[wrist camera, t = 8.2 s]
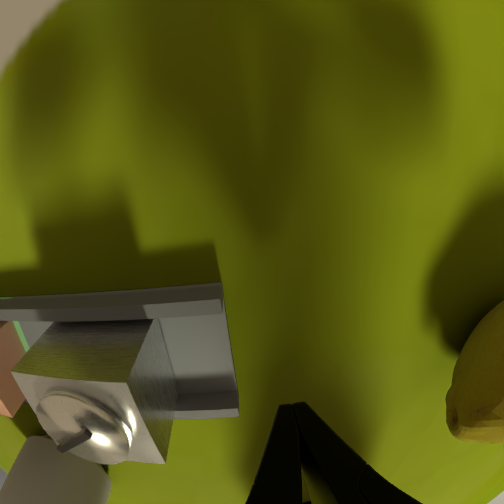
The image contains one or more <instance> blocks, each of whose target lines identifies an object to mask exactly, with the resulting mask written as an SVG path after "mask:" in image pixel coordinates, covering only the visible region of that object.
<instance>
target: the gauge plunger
mask: <svg viewBox="0 0 504 504" xmlns="http://www.w3.org/2000/svg"><path fill="white" fill-rule="evenodd" d="M11 373H12V375H13V377H14V379H15V381H16V382H17V384H18V386H19V388H20V390H21V391H22V393H23V395H24V396H25V398H26V400H27V401H28V403H29V405H30V406H31V408H32V409H33V411H34V412H35V414H36V415H37V418H38V420H39V422H40V424H41V426H42V427H43V429H44V430H45V431H46V433H47V434H48V435H49V436H50V437H51V438H52V439H53V440H54V441H55V443H56V444H57V445H58V446H57V448H56V449H57V450H58V451H60V452H61V453H64V452H66V451H69V452H71V453H73V454H75V455H76V456H79V457H81V458H83V459H86V460H88V461H92V462H95V463H100V464H118V463H121V462H123V461H124V460H127V461H136V462H147V463H161V464H166V459H167V453H168V447H169V441H170V436H171V430H172V425H173V419H174V414H175V408H176V403H177V398H178V393H179V390H178V387H177V383H176V380H175V377H174V374H173V370H172V367H171V363H170V360H169V357H168V353H167V349H166V346H165V342H164V338H163V335H162V331H161V327H160V323H159V319H158V318H157V319H138V320H113V321H66V322H53V323H52V324H51V325H50V327H49V328H48V329H47V330H46V331H45V332H44V333H43V334H42V335H41V336H40V338H39V339H38V340H37V341H36V342H35V343H34V344H33V346H32V347H31V348H30V349H29V350H28V351H27V352H26V354H25V355H24V356H23V357H22V358H21V359H20V361H19V362H18V363H17V364H16V365H15V367H14V368H13V369H12V370H11Z"/></svg>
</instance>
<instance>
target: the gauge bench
mask: <svg viewBox="0 0 504 504" xmlns="http://www.w3.org/2000/svg"><path fill="white" fill-rule="evenodd" d="M157 318H158V319H159V323H160V327H161V331H162V335H163V338H164V342H165V346H166V349H167V353H168V357H169V360H170V363H171V367H172V370H173V374H174V377H175V380H176V383H177V387H178V390H179V393H178V398H177V403H176V408H175V414H174V419H208V418H228V417H239V394H238V388H237V382H236V376H235V370H234V363H233V357H232V351H231V344H230V337H229V331H228V324H227V317H226V310H225V303H224V295H223V288H222V282H217V283H206V284H195V285H184V286H172V287H160V288H147V289H134V290H121V291H106V292H91V293H75V294H58V295H39V296H17V297H0V321H13V323H14V326H15V328H16V331H17V333H18V335H19V338H20V340H21V342H22V345H23V347H24V349H25V351H26V352H27V351H28V350H29V349H30V348H31V347H32V346H33V344H34V343H35V342H36V341H37V340H38V339H39V338H40V336H41V335H42V334H43V333H44V332H45V331H46V330H47V329H48V328H49V327H50V325H51V324H52V323H53V322H66V321H113V320H138V319H157ZM24 403H28V401H27V400H26V399H25V400H24ZM28 404H29V403H28Z"/></svg>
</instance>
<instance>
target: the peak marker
mask: <svg viewBox="0 0 504 504" xmlns="http://www.w3.org/2000/svg"><path fill="white" fill-rule="evenodd" d="M25 354H26V351H25V349H24V347H23V345H22V342H21V340H20V338H19V335H18V333H17V331H16V328H15V326H14V323H13V321H0V414H1V415H5V416H8V417H11V418H13V417H14V415H15V414H16V412H17V411H18V409H19V408H20V406H21V405H22V403H23V402H24V400H25V399H26V398H25V396H24V395H23V393H22V391H21V390H20V388H19V386H18V384H17V382H16V381H15V379H14V377H13V375H12V373H11V370H12V369H13V368H14V367H15V365H16V364H17V363H18V362H19V361H20V359H21V358H22V357H23V356H24V355H25Z"/></svg>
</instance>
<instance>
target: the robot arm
mask: <svg viewBox="0 0 504 504" xmlns="http://www.w3.org/2000/svg"><path fill="white" fill-rule="evenodd" d="M301 471H302V475H303V478H304V481H305V484H306V487H307V490H308V493H309V496H310V499H311V503H307V504H422V503H420V502H419V501H417V500H416V499H414V498H412V497H411V496H409V495H408V494H406V493H405V492H403V491H401V490H400V489H398V488H397V487H395V486H394V485H393V484H391V483H390V482H388V481H387V480H386V479H384V478H383V477H382V476H381V475H380V474H379V473H377V472H376V471H375V470H374V469H373V468H372V467H371V466H370V465H369V464H367V463H366V462H365V461H364V460H363V459H362V458H361V457H360V456H359V455H358V454H357V453H356V452H355V451H354V450H353V449H352V448H351V447H350V446H349V445H347V444H346V443H345V442H344V441H343V440H342V439H341V438H340V437H339V436H338V435H337V434H336V433H335V432H334V431H333V430H332V429H331V428H330V427H329V426H328V425H327V424H326V423H325V422H324V421H323V420H322V419H321V418H320V417H319V416H318V415H317V414H316V413H315V412H314V411H313V410H312V408H311V407H310V406H309V405H308V404H307V403H306V402H296V403H293V404H282V405H279V407H278V410H277V413H276V416H275V420H274V423H273V426H272V429H271V432H270V436H269V439H268V442H267V445H266V448H265V451H264V454H263V457H262V460H261V463H260V466H259V469H258V472H257V475H256V477H255V480H254V484H253V485H252V488H251V491H250V494H249V496H248V499H247V501H246V503H245V504H302V477H301Z"/></svg>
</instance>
